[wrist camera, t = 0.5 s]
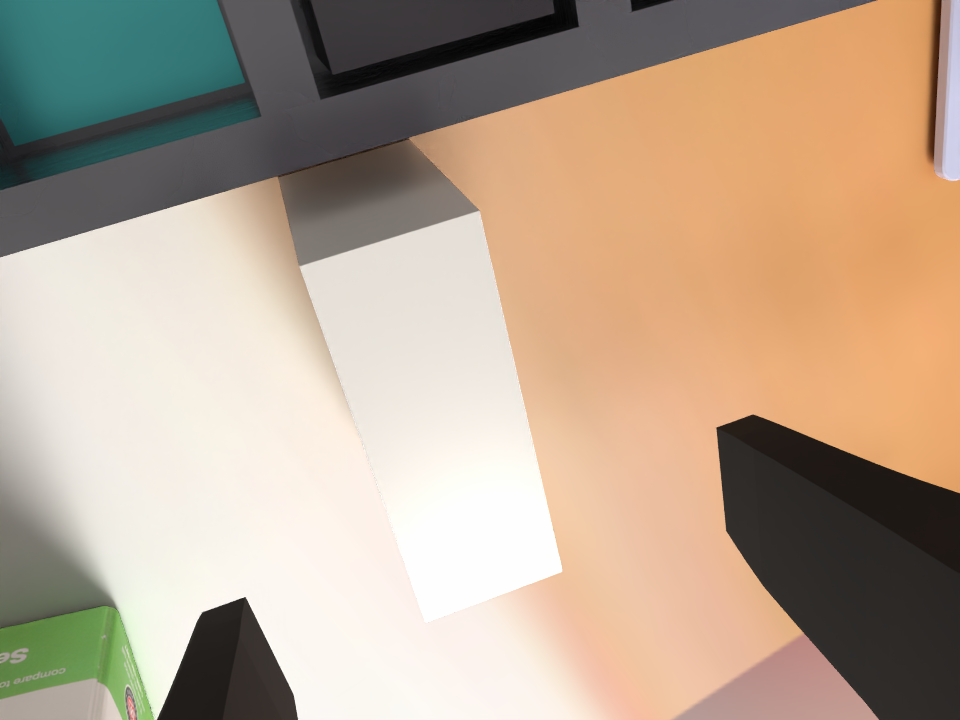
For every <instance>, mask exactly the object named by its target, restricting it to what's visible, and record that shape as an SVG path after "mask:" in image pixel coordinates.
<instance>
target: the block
mask: <svg viewBox="0 0 960 720" xmlns="http://www.w3.org/2000/svg"><path fill="white" fill-rule="evenodd" d="M278 179H279V183H280V187H281V191H282V196H283V200H284V204H285V208H286V213H287V217H288V221H289V225H290V229H291V234H292V238H293V242H294V246H295V250H296V255H297V259H298V263H299V267H300V270H301V273H302V275H303V278H304V281H305V284H306V287H307V290H308V292H309V295H310V298H311V301H312V304H313V306H314V309H315V312H316V315H317V318H318V321H319V323H320V326H321V329H322V332H323V335H324V338H325V340H326V343H327V346H328V349H329V352H330V354H331V357H332V360H333V363H334V366H335V369H336V371H337V374H338V377H339V380H340V383H341V386H342V388H343V391H344V394H345V397H346V400H347V402H348V405H349V408H350V411H351V414H352V417H353V419H354V422H355V425H356V428H357V431H358V434H359V436H360V439H361V442H362V445H363V448H364V450H365V453H366V456H367V459H368V462H369V465H370V467H371V470H372V473H373V476H374V479H375V482H376V484H377V487H378V490H379V493H380V496H381V498H382V501H383V504H384V507H385V510H386V513H387V515H388V518H389V521H390V524H391V527H392V530H393V532H394V535H395V538H396V541H397V544H398V546H399V549H400V552H401V555H402V558H403V561H404V563H405V566H406V569H407V572H408V575H409V578H410V580H411V583H412V586H413V589H414V592H415V594H416V597H417V600H418V603H419V606H420V609H421V611H422V614H423V617H424V620H425V623H427V622H429V621H432V620H435V619H437V618H440V617H443V616H445V615H448V614H451V613H453V612H456V611H459V610H461V609H464V608H467V607H469V606H472V605H475V604H477V603H480V602H483V601H485V600H488V599H490V598H493V597H496V596H498V595H501V594H504V593H506V592H509V591H512V590H514V589H517V588H520V587H522V586H525V585H528V584H530V583H533V582H536V581H538V580H541V579H544V578H546V577H549V576H552V575H554V574H557V573H560V572H562V566H561V562H560V558H559V553H558V549H557V545H556V540H555V536H554V532H553V527H552V523H551V519H550V514H549V510H548V506H547V501H546V497H545V493H544V488H543V484H542V480H541V475H540V471H539V467H538V462H537V458H536V454H535V449H534V445H533V441H532V436H531V432H530V428H529V423H528V419H527V415H526V410H525V406H524V402H523V397H522V393H521V389H520V384H519V380H518V376H517V371H516V367H515V362H514V358H513V354H512V349H511V345H510V341H509V336H508V332H507V328H506V323H505V319H504V315H503V310H502V306H501V302H500V297H499V293H498V289H497V284H496V280H495V276H494V271H493V267H492V263H491V258H490V254H489V250H488V245H487V241H486V237H485V232H484V228H483V224H482V219H481V215H480V211H479V210H478V209H477V208H476V207H475V206H474V205H473V204H472V203H471V202H470V201H469V200H468V199H467V198H466V197H465V196H464V195H463V193H462V192H461V191H460V190H459V189H458V188H457V187H456V186H455V185H454V184H453V183H452V182H451V181H450V180H449V179H448V178H447V177H446V176H445V175H444V174H443V173H442V172H441V171H440V170H439V169H438V168H437V167H436V166H435V165H434V164H433V163H432V162H431V161H430V160H429V159H428V158H427V157H426V156H425V155H424V154H423V153H422V152H421V151H420V150H419V149H418V148H417V147H416V146H415V145H414V144H413V143H412V142H411V141H410V140H405V141H402V142H398V143H395V144H391V145H388V146H385V147H381V148H378V149H374V150H371V151H368V152H364V153H361V154H357V155H354V156H351V157H347V158H344V159H340V160H337V161H334V162H330V163H327V164H323V165H320V166H316V167H313V168H310V169H306V170H303V171H299V172H296V173H293V174H289V175H286V176H282V177H279V178H278Z"/></svg>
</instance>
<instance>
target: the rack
mask: <svg viewBox="0 0 960 720" xmlns="http://www.w3.org/2000/svg"><path fill="white" fill-rule="evenodd" d="M873 1H876V0H0V257H3V256H6V255H10V254H13V253H16V252H20V251H23V250H27V249H30V248H33V247H37V246H40V245H44V244H47V243H51V242H54V241H57V240H61V239H64V238H68V237H71V236H74V235H78V234H81V233H85V232H88V231H91V230H95V229H98V228H102V227H105V226H109V225H112V224H115V223H119V222H122V221H126V220H129V219H132V218H136V217H139V216H143V215H146V214H149V213H153V212H156V211H160V210H163V209H167V208H170V207H173V206H177V205H180V204H184V203H187V202H190V201H194V200H197V199H201V198H204V197H207V196H211V195H214V194H218V193H221V192H225V191H228V190H231V189H235V188H238V187H242V186H245V185H248V184H252V183H255V182H259V181H262V180H265V179H269V178H272V177H276V176H279V175H283V174H286V173H289V172H293V171H296V170H300V169H303V168H306V167H310V166H313V165H317V164H320V163H323V162H327V161H330V160H334V159H337V158H341V157H344V156H347V155H351V154H354V153H358V152H361V151H364V150H368V149H371V148H375V147H378V146H381V145H385V144H388V143H392V142H395V141H399V140H402V139H405V138H409V137H412V136H416V135H419V134H422V133H426V132H429V131H433V130H436V129H440V128H443V127H446V126H450V125H453V124H457V123H460V122H463V121H467V120H470V119H474V118H477V117H480V116H484V115H487V114H491V113H494V112H498V111H501V110H504V109H508V108H511V107H515V106H518V105H521V104H525V103H528V102H532V101H535V100H538V99H542V98H545V97H549V96H552V95H556V94H559V93H562V92H566V91H569V90H573V89H576V88H579V87H583V86H586V85H590V84H593V83H596V82H600V81H603V80H607V79H610V78H614V77H617V76H620V75H624V74H627V73H631V72H634V71H637V70H641V69H644V68H648V67H651V66H654V65H658V64H661V63H665V62H668V61H672V60H675V59H678V58H682V57H685V56H689V55H692V54H695V53H699V52H702V51H706V50H709V49H712V48H716V47H719V46H723V45H726V44H730V43H733V42H736V41H740V40H743V39H747V38H750V37H753V36H757V35H760V34H764V33H767V32H771V31H774V30H777V29H781V28H784V27H788V26H791V25H794V24H798V23H801V22H805V21H808V20H811V19H815V18H818V17H822V16H825V15H829V14H832V13H835V12H839V11H842V10H846V9H849V8H852V7H856V6H859V5H863V4H866V3H869V2H873Z"/></svg>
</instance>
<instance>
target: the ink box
mask: <svg viewBox="0 0 960 720" xmlns="http://www.w3.org/2000/svg"><path fill="white" fill-rule="evenodd" d="M0 720H154V719H153V716H152V713H151V710H150V706H149V703H148V701H147V698H146V694H145V691H144V688H143V685H142V682H141V679H140V676H139V673H138V670H137V667H136V664H135V660H134V657H133V654H132V651H131V648H130V645H129V642H128V639H127V636H126V633H125V630H124V627H123V624H122V621H121V619H120V616H119V612H118V611H117V610H116V609H115V608H112V607H108V606H101V607H97V608H92V609H87V610H82V611H78V612H73V613H69V614H64V615H60V616H55V617H51V618H46V619H42V620H37V621H33V622H29V623H25V624H20V625H15V626H10V627H5V628H1V629H0Z"/></svg>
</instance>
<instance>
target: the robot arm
mask: <svg viewBox="0 0 960 720" xmlns="http://www.w3.org/2000/svg"><path fill="white" fill-rule="evenodd" d="M934 171H935V173H936V174H937V176H939V177H941V178H944V179H947V180H950V181H954V180H959V179H960V0H942V8H941V28H940V48H939V68H938V89H937V109H936V129H935V149H934ZM717 438H718V449H719V459H720V470H721V480H722V491H723V501H724V512H725V522H726V531H727V533H728V534H729V536H730V537H731V539H732V540H733V542H734V543H735V545H736V547H737V548H738V550H739V551H740V553H741V554H742V556H743V557H744V559H745V560H746V562H747V563H748V565H749V566H750V568H751V569H752V570H753V572H754V573H755V575H756V576H757V578H758V579H759V581H760V582H761V583H762V585H763V586H764V587H765V589H766V590H767V591H768V592H769V593H770V594H771V596H772V597H773V598H774V599H775V600H776V601H777V603H778V604H779V605H780V606H781V607H782V608H783V610H784V611H785V612H786V613H787V614H788V615H789V616H790V618H791V619H792V620H793V621H794V622H795V623H796V624H797V626H798V627H799V628H800V629H801V630H802V631H803V632H804V634H805V635H806V636H807V637H808V638H809V639H810V640H811V641H812V643H813V644H814V645H815V646H816V647H817V648H818V649H819V650H820V652H821V653H822V654H823V655H824V656H825V657H826V658H827V660H828V661H829V662H830V663H831V664H832V665H833V666H834V668H835V669H836V670H837V671H838V672H839V673H840V674H841V676H842V677H843V678H844V679H845V680H846V681H847V682H848V683H849V684H850V686H851V687H852V688H853V689H854V690H855V691H856V693H857V694H858V695H859V696H860V697H861V698H862V699H863V700H864V702H865V703H866V704H867V705H868V706H869V708H870V709H871V710H872V711H873V713H874V714H875V715H876V716H877V717H878V719H879V720H960V493H957V492H954V491H951V490H948V489H945V488H942V487H939V486H936V485H933V484H930V483H927V482H924V481H921V480H918V479H916V478H913V477H910V476H907V475H905V474H902V473H899V472H896V471H894V470H891V469H888V468H886V467H883V466H881V465H878V464H875V463H873V462H870V461H868V460H865V459H863V458H860V457H858V456H855V455H853V454H850V453H848V452H845V451H843V450H840V449H838V448H835V447H833V446H830V445H828V444H826V443H823V442H821V441H818V440H816V439H813V438H811V437H809V436H806V435H804V434H801V433H799V432H796V431H794V430H792V429H789V428H787V427H784V426H782V425H779V424H777V423H774V422H772V421H769V420H767V419H764V418H761V417H759V416H756V415H750V416H748V417H745V418H742V419H739V420H737V421H734V422H731V423H728V424H725V425H723V426H720V427H717ZM157 720H298V717H297V712H296V706H295V700H294V695H293V693H292V691H291V689H290V687H289V684H288V682H287V680H286V678H285V676H284V674H283V672H282V670H281V668H280V666H279V664H278V662H277V660H276V658H275V656H274V654H273V652H272V650H271V648H270V646H269V644H268V642H267V640H266V638H265V636H264V634H263V632H262V630H261V628H260V626H259V624H258V622H257V619H256V617H255V615H254V613H253V611H252V609H251V607H250V605H249V603H248V601H247V599H246V597H244V598H241V599H239V600H236V601H233V602H230V603H227V604H225V605H222V606H219V607H216V608H213V609H211V610H208V611H205V612H202V614H201V616H200V617H199V619H198V621H197V623H196V626H195V628H194V631H193V633H192V636H191V638H190V641H189V644H188V646H187V649H186V651H185V654H184V656H183V659H182V661H181V664H180V666H179V669H178V671H177V674H176V676H175V679H174V681H173V684H172V686H171V689H170V691H169V693H168V696H167V698H166V701H165V703H164V705H163V708H162V710H161V712H160V714H159V717H158V719H157Z"/></svg>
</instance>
